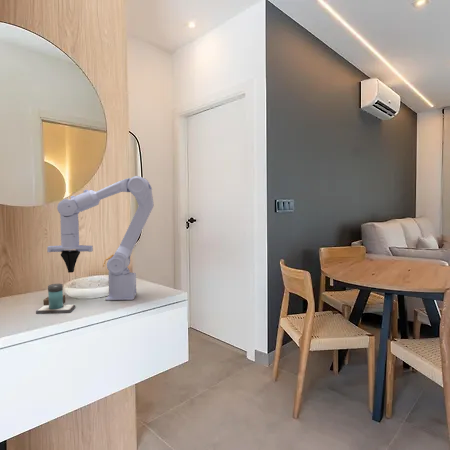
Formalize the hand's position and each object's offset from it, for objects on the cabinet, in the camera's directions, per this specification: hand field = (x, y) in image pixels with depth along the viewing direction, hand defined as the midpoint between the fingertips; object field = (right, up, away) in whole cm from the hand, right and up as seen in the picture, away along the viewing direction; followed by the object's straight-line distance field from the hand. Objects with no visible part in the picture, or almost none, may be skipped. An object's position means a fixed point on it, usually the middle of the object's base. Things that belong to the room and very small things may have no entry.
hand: (71, 271), depth 115 cm
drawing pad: (+1, -10, -12) cm, 16 cm away
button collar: (-2, -10, -7) cm, 12 cm away
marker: (+1, -9, -12) cm, 15 cm away
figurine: (+8, -8, +21) cm, 24 cm away
